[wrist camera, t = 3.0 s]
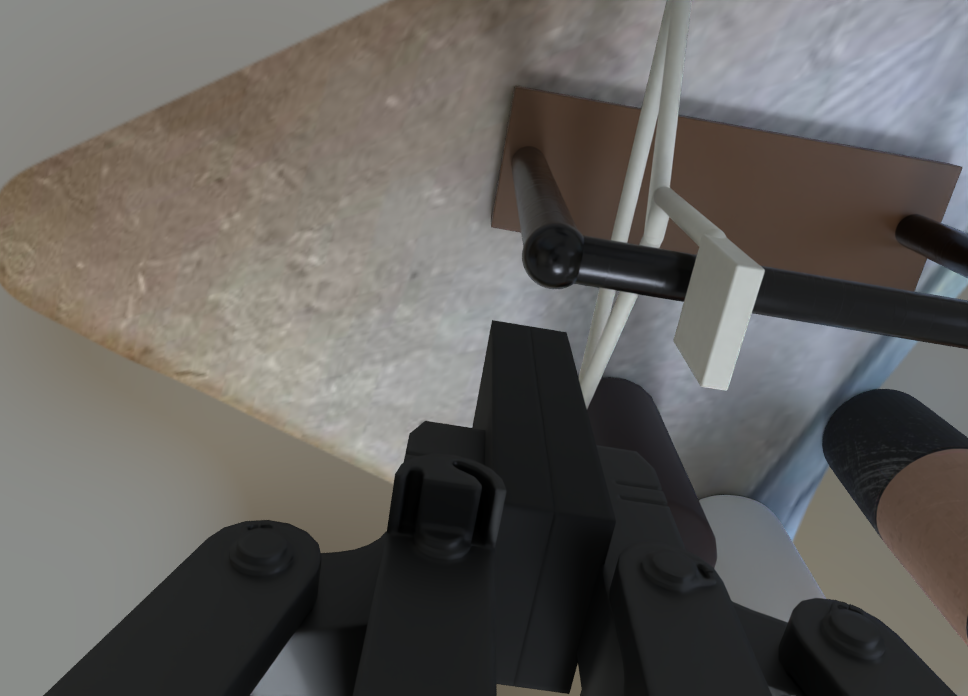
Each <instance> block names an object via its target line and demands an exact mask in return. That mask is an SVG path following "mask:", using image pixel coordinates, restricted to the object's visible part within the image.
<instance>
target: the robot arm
mask: <svg viewBox="0 0 968 696" xmlns="http://www.w3.org/2000/svg"><path fill="white" fill-rule="evenodd" d="M661 489H662V487H661V484H660V482H659V479H658V476H657V474H656V471H655V469H654V468H653V467H652V466H651V465H650V464H649V463H648V462H647V461H646V460H645V459H644V458H643V457H642V456H641V455H640V454H639V453H638V452H637V451H631V450H625V449H618V448H612V447H605V446H599V445H596V443H595V439H594V435H593V431H592V427H591V424H590V420H589V416H588V412H587V408H586V405H585V401H584V397H583V393H582V389H581V386H580V382H579V378H578V374H577V370H576V367H575V363H574V359H573V355H572V351H571V348H570V344H569V340H568V336H567V333H566V332H561V331H555V330H549V329H543V328H536V327H530V326H524V325H518V324H512V323H506V322H499V321H493V320H492V324H491V329H490V335H489V340H488V346H487V351H486V357H485V362H484V367H483V373H482V378H481V384H480V389H479V395H478V400H477V406H476V411H475V417H474V422H473V428H468V427H461V426H455V425H449V424H442V423H436V422H429V421H425V422H423V423H422V424H421V425H420V426H419V427H417V428H416V429H415V430H414V431H412V432H411V433H410V435H409V439H408V444H407V449H406V454H405V459H404V463H403V464H401V466H400V467H399V469H398V471H397V472H396V474H395V479H394V486H393V493H392V500H391V507H390V514H389V520H388V527H387V532H385V533H384V534H383V535H382V536H381V538H379V539H378V540H376V541H374V542H373V543H371V544H369V545H367V546H364V547H361V548H358V549H355V550H349V551H342V552H333V553H320V548H319V544H318V543H317V542H316V541H315V540H314V539H313V538H312V537H311V536H310V535H309V534H308V533H307V532H306V531H304V530H302V529H299V528H297V527H295V526H293V525H291V524H288V523H282V522H276V521H270V520H261V521H245V522H241V523H238V524H235V525H231V526H228V527H224V528H223V529H221V530H220V531H218V532H217V533H215V534H214V535H212V536H211V537H209V538H208V539H207V540H206V541H205V542H204V543H202V544H201V545H200V546H199V547H198V548H197V549H196V550H195V551H194V552H193V553H192V554H191V555H190V556H189V557H188V558H187V559H186V560H185V561H184V562H183V563H182V564H180V565H179V566H178V567H177V568H176V569H175V570H174V571H173V572H172V573H171V574H170V575H169V576H168V577H167V578H166V579H165V580H164V581H163V582H162V583H161V584H159V585H158V586H157V587H156V588H155V589H154V590H153V591H152V592H151V593H150V594H149V595H148V596H147V597H146V598H145V599H144V600H143V601H142V602H141V603H140V604H139V605H138V606H136V608H134V610H132V611H131V612H130V613H129V614H128V615H127V616H126V617H125V618H124V619H123V620H122V621H121V622H120V623H119V624H118V625H117V626H116V627H115V628H113V629H112V630H111V631H110V632H109V634H107V635H106V636H105V637H104V638H103V639H102V640H101V641H100V642H99V643H98V644H97V645H96V646H95V647H94V648H93V649H92V650H90V651H89V652H88V653H87V654H86V655H85V656H84V657H83V658H82V659H81V660H80V661H79V662H78V663H77V664H76V665H75V666H74V667H73V668H72V669H71V670H70V671H68V672H67V674H65V675H64V676H63V677H62V678H61V679H60V680H59V681H58V682H57V683H56V684H55V685H54V686H53V687H52V688H51V689H50V690H49V691H48V692H47V693H45V695H43V696H496V684H501V685H509V686H516V687H523V688H530V689H537V690H545V691H552V692H560V693H567V694H569V693H570V689H571V686H572V682H573V678H574V675H575V671H576V667H577V664H578V666H579V673H580V680H581V687H582V691H581V694H580V696H957V695H956V694H955V693H954V692H953V691H952V690H951V689H950V688H949V687H948V686H947V685H946V684H945V683H944V682H943V681H942V680H941V679H940V678H939V677H938V676H937V675H936V674H935V673H934V672H933V671H932V670H931V669H930V668H929V667H928V666H927V665H926V664H925V662H924V661H922V659H921V658H920V657H919V656H918V655H917V654H916V653H915V652H914V651H913V650H912V649H911V648H910V647H909V646H908V645H907V644H906V643H905V642H904V641H903V640H902V639H901V638H900V637H899V636H898V635H897V634H896V633H895V632H894V631H892V630H891V629H890V628H889V627H888V626H886V625H885V624H884V623H883V622H881V621H880V620H879V619H877V618H876V617H874V616H872V615H870V614H868V613H866V612H865V611H863V610H862V609H860V608H858V607H856V606H853V605H851V604H850V605H848V604H847V603H845V602H840V601H837V600H830V599H822V598H813V599H808V600H803V601H801V602H800V603H799V604H798V605H797V606H796V607H795V608H794V609H793V611H792V613H791V616H790V619H789V621H788V622H785V621H782V620H779V619H777V618H774V617H771V616H768V615H765V614H763V613H760V612H757V611H754V610H751V609H749V608H747V607H744V606H742V605H740V604H737V603H735V602H733V601H731V599H730V596H729V594H728V592H727V589H726V587H725V585H724V582H723V581H722V579H721V578H720V576H719V575H718V573H717V572H716V571H715V569H714V568H713V567H712V566H710V565H709V564H708V563H707V562H705V561H704V560H703V559H702V558H700V557H699V556H697V555H695V554H693V553H691V552H689V551H687V550H686V549H685V546H684V544H683V541H682V538H681V536H680V533H679V531H678V528H677V526H676V523H675V520H674V518H673V515H672V513H671V510H670V507H669V506H667V503H668V502H667V500H666V497H665V494H664V492H663V491H661Z"/></svg>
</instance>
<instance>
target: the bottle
mask: <svg viewBox="0 0 968 696" xmlns="http://www.w3.org/2000/svg"><path fill="white" fill-rule="evenodd" d="M587 412H588V416H589V420H590V424H591V427H592V431H593V435H594V439H595V443H596V445H599V446H605V447H612V448H618V449H625V450H631V451H637V452H638V453H639V454H640V455H641V456H642V457H643V458H644V459H645V460H646V461H647V462H648V463H649V464H650V465H651V466H652V467H653V468H654V469H655V471H656V474H657V476H658V479H659V482H660V484H661V487H662V489H661V491H663V492H664V494H665V497H666V500H667V502H668V503H667V506H669V507H670V510H671V513H672V515H673V518H674V520H675V523H676V526H677V528H678V531H679V533H680V536H681V538H682V541H683V544H684V546H685V549H686V550H687V551H689V552H691V553H693V554H695V555H697V556H699V557H700V558H702V559H703V560H704V561H705V562H707V563H708V564H709V565H710V566H712V567H713V568H715V564H716V561H717V548H716V538H715V535H714V533H713V531H712V529H711V527H710V524H709V522H708V520H707V518H706V515H705V513H704V511H703V509H702V507H701V504H700V502H699V500H698V498H697V495H696V493H695V491H694V489H693V487H692V484H691V482H690V480H689V478H688V475H687V473H686V471H685V469H684V467H683V464H682V462H681V460H680V458H679V455H678V453H677V451H676V449H675V447H674V444H673V442H672V440H671V438H670V435H669V433H668V431H667V429H666V427H665V424H664V422H663V420H662V418H661V415H660V413H659V411H658V409H657V407H656V405H655V403H654V401H653V399H652V397H651V396H650V395H649V394H648V393H647V392H646V391H645V390H644V389H643V388H642V387H641V386H639V385H637V384H635V383H632V382H630V381H628V380H626V379H619V378H611V377H608V378H602V379H600V382H599V384H598V386H597V388H596V391H595V393H594V395H593V397H592V400H591V402H590V404H589V406H588V409H587Z"/></svg>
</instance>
